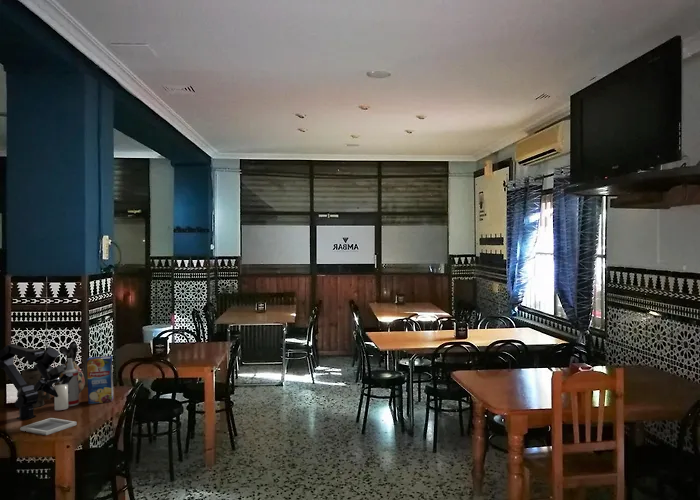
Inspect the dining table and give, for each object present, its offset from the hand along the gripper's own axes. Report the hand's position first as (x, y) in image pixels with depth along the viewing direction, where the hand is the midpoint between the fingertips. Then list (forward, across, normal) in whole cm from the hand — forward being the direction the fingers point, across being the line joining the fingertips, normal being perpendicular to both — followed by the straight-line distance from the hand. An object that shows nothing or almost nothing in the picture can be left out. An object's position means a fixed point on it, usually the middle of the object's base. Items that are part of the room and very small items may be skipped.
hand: (63, 395), depth 285 cm
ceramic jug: (-18, +38, +37) cm, 56 cm away
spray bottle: (-8, +26, +28) cm, 39 cm away
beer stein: (-20, +19, +39) cm, 48 cm away
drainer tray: (+9, -8, +10) cm, 16 cm away
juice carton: (-1, +37, +20) cm, 42 cm away
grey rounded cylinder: (+4, 0, +6) cm, 7 cm away
